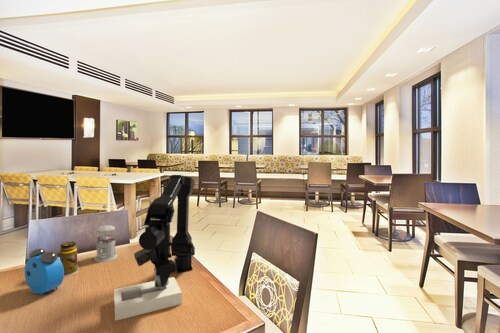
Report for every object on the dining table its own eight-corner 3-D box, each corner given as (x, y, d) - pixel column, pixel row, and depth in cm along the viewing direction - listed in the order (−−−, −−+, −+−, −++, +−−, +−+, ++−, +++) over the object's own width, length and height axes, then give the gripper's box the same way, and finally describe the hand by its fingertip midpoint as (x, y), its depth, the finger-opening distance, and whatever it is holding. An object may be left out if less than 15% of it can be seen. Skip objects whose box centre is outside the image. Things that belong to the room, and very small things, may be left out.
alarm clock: (65, 290, 98) (63, 250, 97) (46, 299, 92) (45, 256, 91) (42, 283, 103) (41, 244, 102) (24, 290, 97) (22, 250, 96)
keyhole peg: (167, 292, 96) (167, 268, 96) (169, 299, 92) (169, 273, 92) (153, 295, 94) (153, 270, 94) (155, 302, 90) (155, 276, 89)
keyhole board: (174, 287, 101) (174, 276, 101) (181, 303, 91) (181, 292, 90) (114, 300, 92) (114, 289, 92) (115, 320, 81) (114, 308, 81)
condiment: (78, 273, 111) (78, 244, 111) (53, 278, 107) (52, 248, 106) (78, 266, 117) (77, 239, 117) (54, 271, 113) (53, 242, 112)
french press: (101, 263, 120) (100, 208, 118) (87, 257, 126) (86, 205, 125) (122, 256, 129) (121, 204, 127) (108, 251, 135) (107, 201, 133)
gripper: (133, 234, 96) (133, 276, 97) (138, 252, 80) (139, 303, 81) (165, 230, 101) (165, 270, 103) (176, 246, 85) (177, 294, 86)
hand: (161, 283), depth 93 cm, fingers closed on keyhole peg, 5 cm apart
